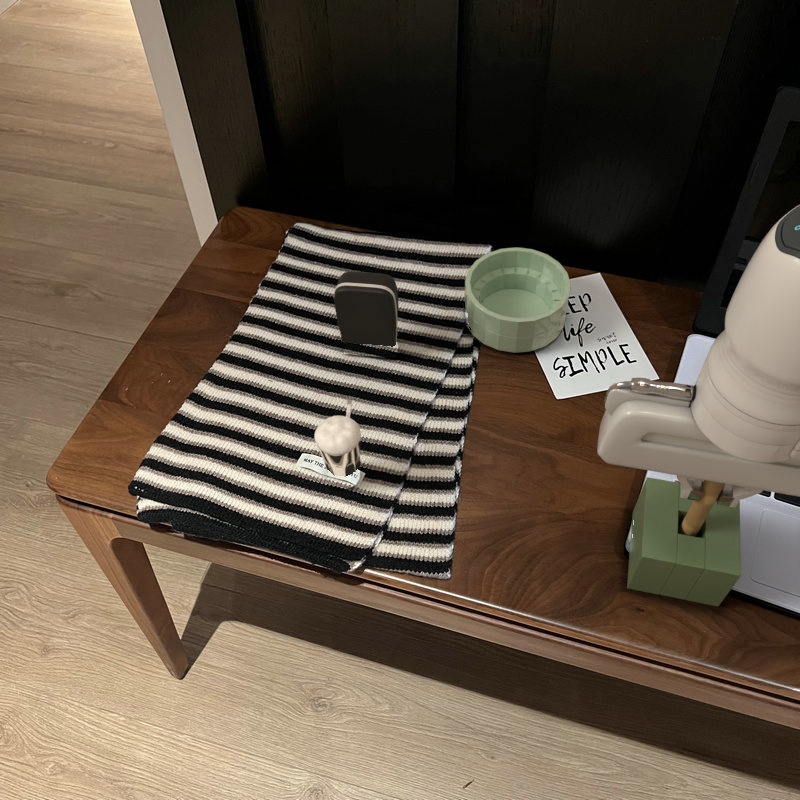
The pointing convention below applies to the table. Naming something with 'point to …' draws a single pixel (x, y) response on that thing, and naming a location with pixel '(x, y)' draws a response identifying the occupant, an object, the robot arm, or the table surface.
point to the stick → (700, 508)
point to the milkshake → (339, 443)
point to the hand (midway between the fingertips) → (707, 495)
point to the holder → (682, 547)
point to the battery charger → (367, 308)
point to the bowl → (516, 299)
